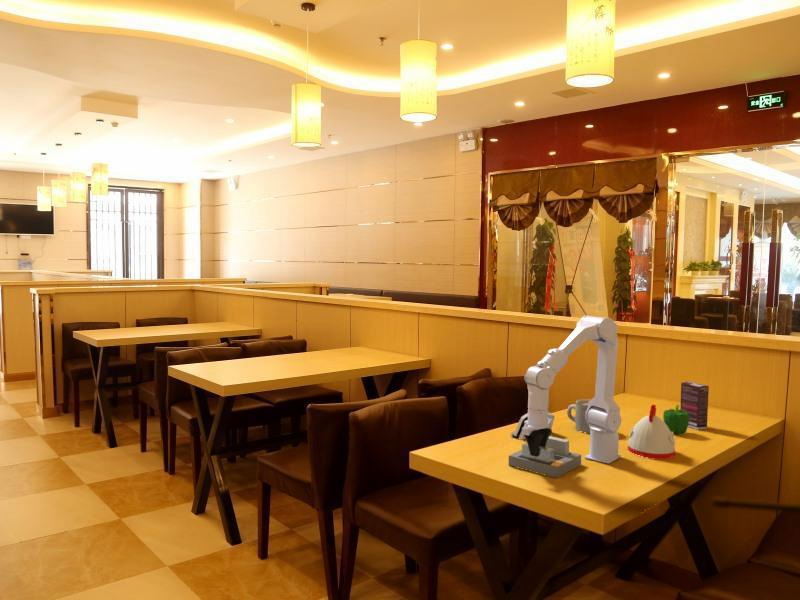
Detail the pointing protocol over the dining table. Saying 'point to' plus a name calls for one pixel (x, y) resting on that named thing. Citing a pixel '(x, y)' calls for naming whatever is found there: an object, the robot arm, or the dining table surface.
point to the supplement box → (695, 404)
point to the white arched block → (521, 424)
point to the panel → (544, 454)
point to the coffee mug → (579, 415)
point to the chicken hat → (652, 438)
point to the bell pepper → (676, 420)
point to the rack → (562, 459)
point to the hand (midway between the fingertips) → (537, 454)
